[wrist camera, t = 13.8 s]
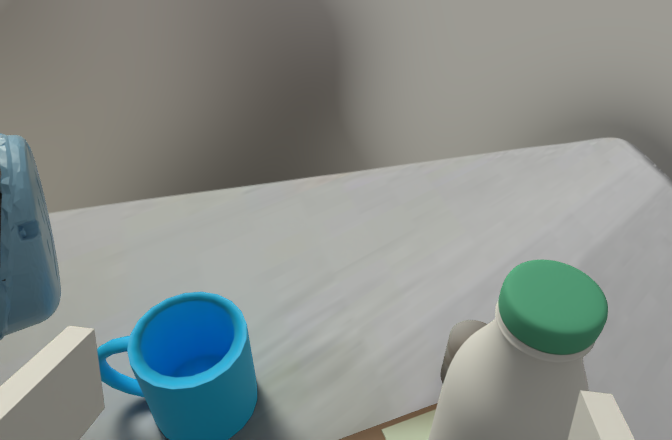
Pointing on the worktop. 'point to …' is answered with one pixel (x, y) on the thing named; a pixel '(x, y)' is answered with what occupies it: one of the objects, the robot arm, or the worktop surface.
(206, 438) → the mug
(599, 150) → the worktop surface
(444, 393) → the milk bottle
